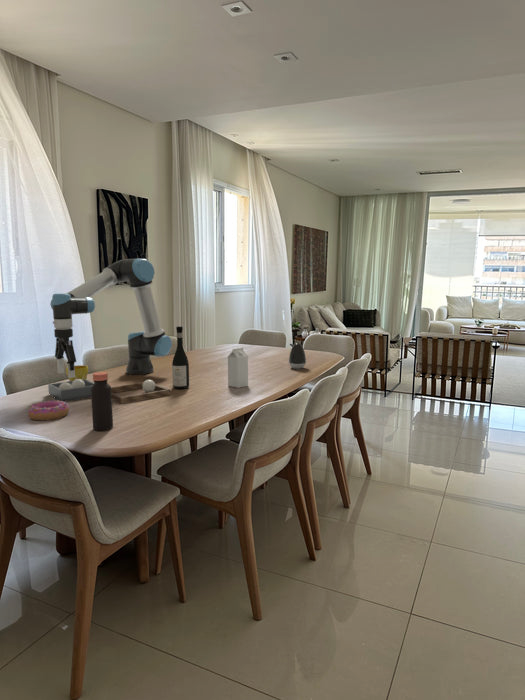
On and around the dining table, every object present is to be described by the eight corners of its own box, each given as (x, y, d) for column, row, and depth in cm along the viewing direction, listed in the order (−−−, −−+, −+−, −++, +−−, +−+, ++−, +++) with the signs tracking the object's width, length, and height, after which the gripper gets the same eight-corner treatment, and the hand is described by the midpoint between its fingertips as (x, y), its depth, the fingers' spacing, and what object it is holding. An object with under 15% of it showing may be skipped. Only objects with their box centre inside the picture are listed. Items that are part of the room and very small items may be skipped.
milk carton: (228, 386, 235) (227, 348, 232) (238, 383, 240) (237, 346, 237) (237, 388, 230) (237, 349, 227) (248, 385, 235) (248, 348, 232)
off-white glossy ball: (84, 390, 223) (80, 378, 223) (88, 388, 218) (84, 376, 218) (72, 394, 219) (67, 382, 219) (76, 392, 214) (71, 380, 214)
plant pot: (62, 387, 232) (61, 367, 231) (79, 383, 241) (77, 364, 240) (77, 389, 228) (76, 369, 226) (93, 385, 237) (92, 366, 235)
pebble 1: (73, 380, 214) (63, 379, 209) (77, 391, 213) (68, 390, 207) (63, 387, 216) (53, 386, 210) (67, 398, 214) (58, 397, 208)
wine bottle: (185, 389, 227) (184, 327, 223) (170, 389, 229) (168, 327, 224) (191, 386, 235) (190, 326, 231) (176, 385, 237) (174, 325, 232)
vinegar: (96, 425, 172) (93, 371, 169) (115, 425, 172) (112, 371, 169) (90, 431, 165) (87, 375, 162) (110, 431, 165) (107, 375, 162)
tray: (147, 386, 234) (147, 381, 233) (170, 394, 217) (169, 389, 217) (100, 394, 218) (100, 389, 218) (121, 403, 202) (121, 398, 202)
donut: (72, 418, 182) (71, 405, 181) (31, 424, 174) (30, 411, 174) (65, 409, 194) (64, 397, 193) (26, 414, 186) (25, 402, 186)
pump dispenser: (294, 365, 289) (294, 341, 287) (309, 367, 283) (309, 342, 281) (285, 368, 281) (285, 343, 279) (300, 370, 275) (300, 344, 273)
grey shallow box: (85, 389, 229) (85, 379, 228) (99, 395, 216) (99, 384, 215) (48, 394, 218) (48, 384, 217) (61, 401, 205) (60, 390, 204)
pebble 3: (151, 390, 227) (151, 377, 226) (158, 392, 222) (157, 379, 221) (140, 392, 223) (139, 379, 222) (146, 394, 218) (145, 381, 217)
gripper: (45, 326, 217) (48, 372, 220) (64, 331, 198) (67, 380, 202) (62, 325, 222) (65, 370, 225) (82, 330, 203) (85, 378, 207)
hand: (66, 375), depth 213 cm, fingers open, 13 cm apart
